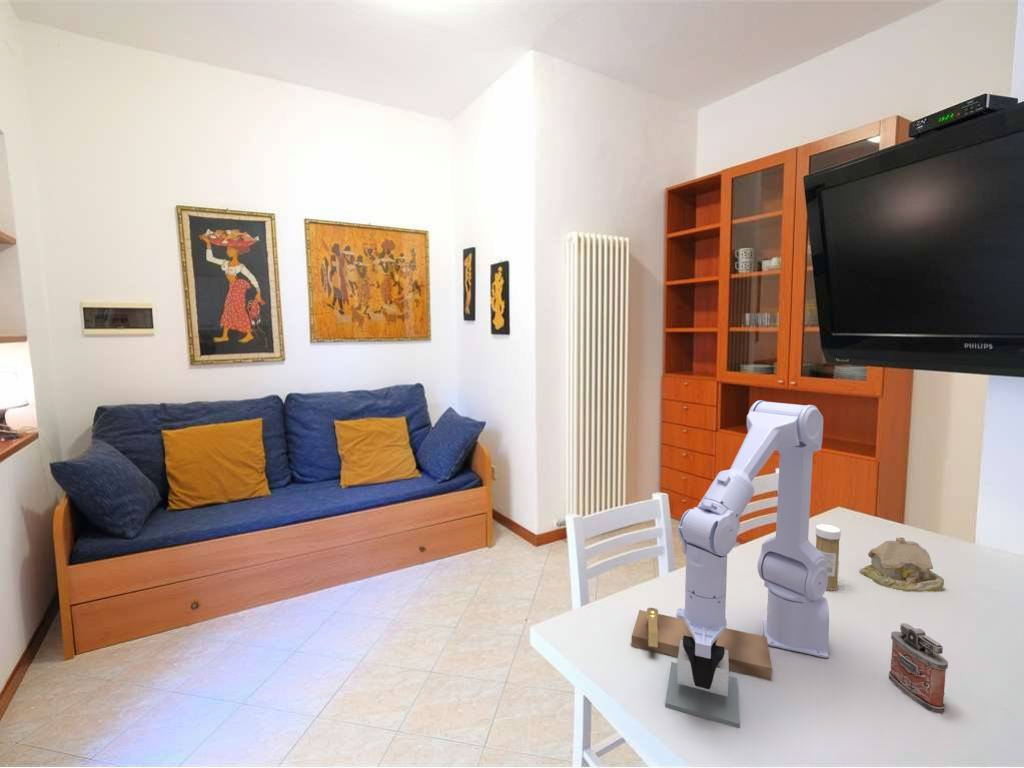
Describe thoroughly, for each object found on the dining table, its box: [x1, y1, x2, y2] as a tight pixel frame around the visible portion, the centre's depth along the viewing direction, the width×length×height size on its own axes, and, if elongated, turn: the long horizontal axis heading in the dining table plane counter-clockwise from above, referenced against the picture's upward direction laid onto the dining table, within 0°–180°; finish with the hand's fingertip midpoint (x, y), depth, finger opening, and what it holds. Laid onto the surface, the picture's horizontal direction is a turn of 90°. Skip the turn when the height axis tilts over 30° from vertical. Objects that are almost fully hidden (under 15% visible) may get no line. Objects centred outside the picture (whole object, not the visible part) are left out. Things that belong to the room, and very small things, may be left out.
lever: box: [646, 607, 659, 647], centre depth 85 cm, size 8×2×3 cm, turn 165°
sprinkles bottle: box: [815, 524, 841, 592], centre depth 105 cm, size 5×5×14 cm
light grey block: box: [677, 640, 730, 697], centre depth 73 cm, size 7×5×4 cm
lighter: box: [888, 622, 949, 714], centre depth 72 cm, size 8×3×10 cm, turn 5°
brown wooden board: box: [631, 609, 773, 681], centre depth 84 cm, size 22×9×2 cm, turn 66°
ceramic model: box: [859, 537, 945, 592], centre depth 108 cm, size 14×11×10 cm
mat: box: [664, 661, 741, 729], centre depth 73 cm, size 10×10×1 cm
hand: (702, 674), depth 73 cm, fingers closed on light grey block, 5 cm apart
